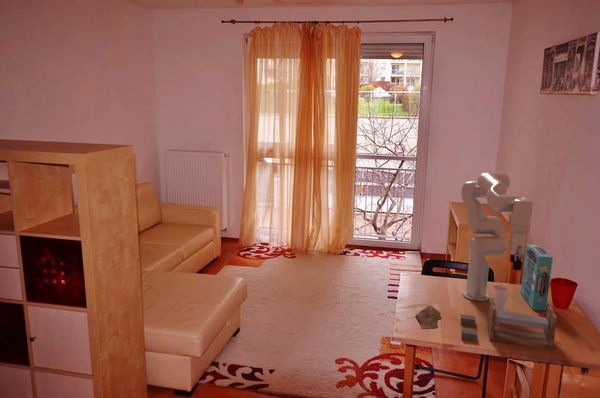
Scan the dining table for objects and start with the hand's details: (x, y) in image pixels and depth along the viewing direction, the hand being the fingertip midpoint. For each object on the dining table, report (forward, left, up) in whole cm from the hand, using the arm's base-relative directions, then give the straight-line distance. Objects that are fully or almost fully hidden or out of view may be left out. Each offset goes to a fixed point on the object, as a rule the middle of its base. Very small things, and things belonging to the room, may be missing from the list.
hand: (515, 266), depth 198 cm
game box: (-33, +15, -28) cm, 46 cm away
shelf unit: (+10, +3, -28) cm, 30 cm away
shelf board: (+10, +3, -21) cm, 24 cm away
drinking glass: (-7, -4, -28) cm, 30 cm away
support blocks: (+10, -17, -28) cm, 34 cm away
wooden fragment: (+2, -34, -29) cm, 45 cm away
